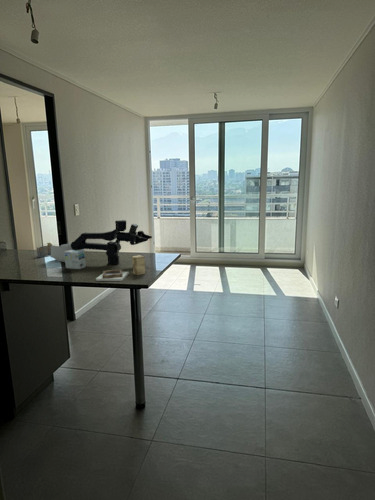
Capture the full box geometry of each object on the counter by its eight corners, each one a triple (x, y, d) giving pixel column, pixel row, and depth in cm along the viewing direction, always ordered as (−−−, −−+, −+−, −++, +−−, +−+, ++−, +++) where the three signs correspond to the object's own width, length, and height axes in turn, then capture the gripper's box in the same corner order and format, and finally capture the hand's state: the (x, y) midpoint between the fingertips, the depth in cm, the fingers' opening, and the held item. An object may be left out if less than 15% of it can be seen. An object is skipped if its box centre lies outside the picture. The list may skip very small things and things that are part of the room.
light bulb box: (86, 266, 207) (84, 250, 205) (79, 269, 201) (78, 252, 198) (72, 265, 210) (70, 249, 208) (65, 268, 204) (63, 251, 202)
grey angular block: (61, 265, 213) (59, 247, 211) (50, 260, 227) (48, 244, 225) (90, 260, 226) (88, 243, 224) (78, 256, 240) (76, 240, 238)
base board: (96, 280, 175) (95, 278, 175) (105, 273, 189) (104, 271, 189) (121, 280, 174) (121, 278, 174) (128, 273, 187) (128, 271, 187)
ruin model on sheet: (51, 254, 249) (49, 242, 247) (53, 255, 248) (52, 242, 246) (37, 257, 240) (36, 244, 238) (40, 258, 238) (38, 245, 236)
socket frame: (102, 278, 175) (102, 275, 175) (103, 273, 185) (103, 270, 185) (122, 276, 177) (122, 274, 177) (122, 271, 187) (122, 269, 187)
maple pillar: (133, 273, 188) (132, 256, 186) (140, 271, 191) (139, 255, 189) (137, 275, 184) (136, 257, 182) (145, 273, 187) (144, 256, 185)
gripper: (120, 226, 197) (145, 227, 195) (131, 222, 215) (154, 223, 213) (120, 244, 200) (145, 246, 197) (130, 239, 218) (153, 240, 215)
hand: (149, 238), depth 205 cm, fingers open, 9 cm apart
